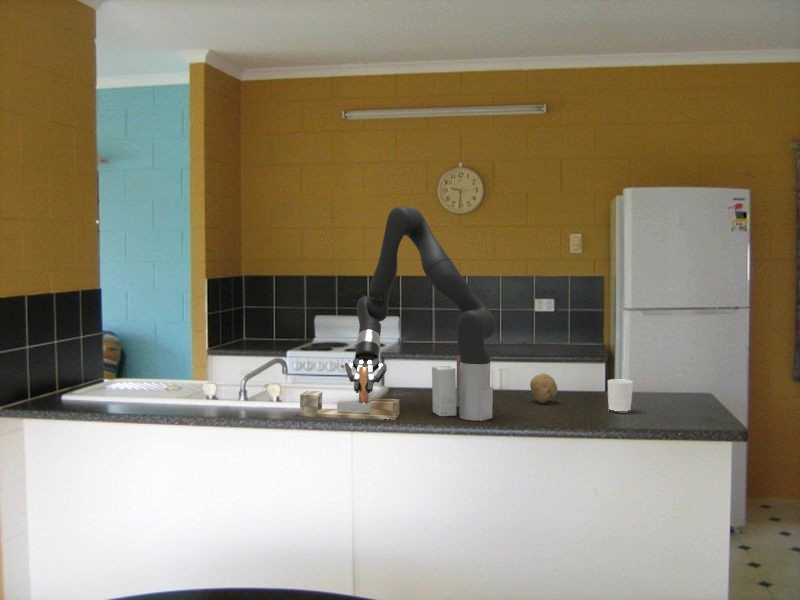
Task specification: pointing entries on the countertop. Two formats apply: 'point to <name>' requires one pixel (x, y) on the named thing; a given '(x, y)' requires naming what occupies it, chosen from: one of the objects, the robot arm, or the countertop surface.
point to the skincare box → (444, 390)
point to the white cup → (620, 394)
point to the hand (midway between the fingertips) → (363, 391)
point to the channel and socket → (313, 408)
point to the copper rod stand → (363, 402)
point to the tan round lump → (543, 387)
